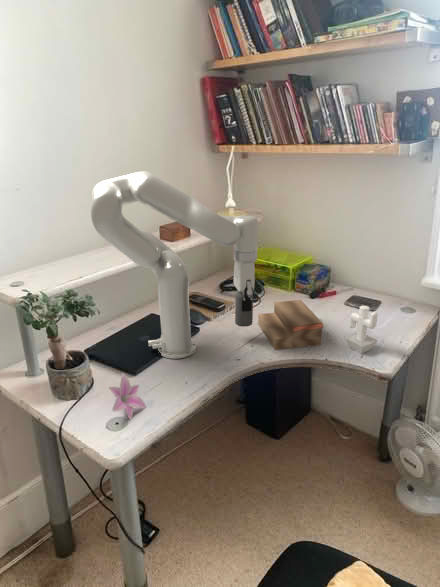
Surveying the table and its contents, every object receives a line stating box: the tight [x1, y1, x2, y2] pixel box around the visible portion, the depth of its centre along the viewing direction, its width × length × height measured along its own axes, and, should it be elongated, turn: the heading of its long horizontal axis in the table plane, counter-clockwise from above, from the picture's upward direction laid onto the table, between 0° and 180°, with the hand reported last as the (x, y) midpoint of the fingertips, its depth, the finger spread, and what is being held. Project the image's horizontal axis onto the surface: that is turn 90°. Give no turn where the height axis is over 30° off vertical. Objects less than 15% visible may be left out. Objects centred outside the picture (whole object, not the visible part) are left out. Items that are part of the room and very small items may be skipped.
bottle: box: [234, 288, 254, 328], centre depth 152 cm, size 6×6×15 cm
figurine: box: [344, 305, 379, 355], centre depth 145 cm, size 7×9×15 cm
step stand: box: [257, 299, 324, 351], centre depth 158 cm, size 16×21×8 cm
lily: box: [108, 372, 147, 420], centre depth 120 cm, size 11×11×9 cm
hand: (244, 306), depth 152 cm, fingers closed on bottle, 5 cm apart
